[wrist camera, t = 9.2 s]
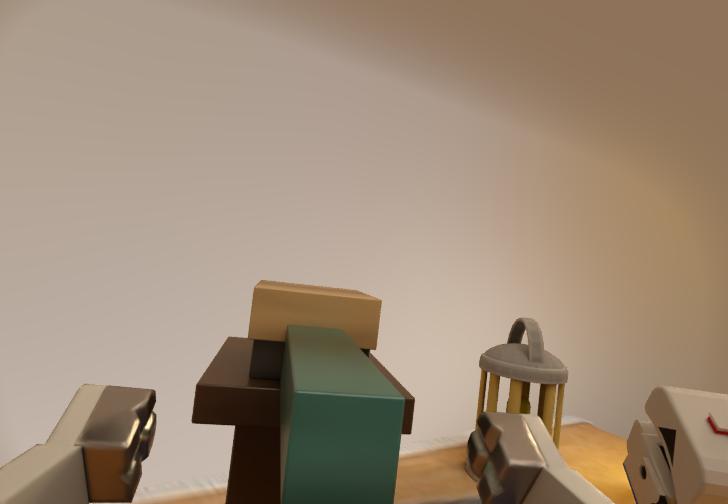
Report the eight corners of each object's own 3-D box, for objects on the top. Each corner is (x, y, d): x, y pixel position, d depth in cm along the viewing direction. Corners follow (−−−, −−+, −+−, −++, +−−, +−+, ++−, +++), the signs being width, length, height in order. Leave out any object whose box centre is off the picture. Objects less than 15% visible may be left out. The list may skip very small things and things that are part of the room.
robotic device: (655, 619, 54) (735, 533, 43) (604, 456, 72) (651, 366, 61) (752, 638, 52) (858, 554, 42) (675, 467, 70) (736, 377, 60)
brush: (461, 512, 9) (479, 337, 9) (202, 507, 8) (226, 314, 8) (349, 356, 24) (356, 290, 24) (252, 348, 23) (260, 279, 23)
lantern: (457, 453, 79) (472, 309, 80) (538, 462, 79) (552, 318, 80) (478, 493, 64) (496, 317, 65) (577, 505, 64) (594, 328, 65)
